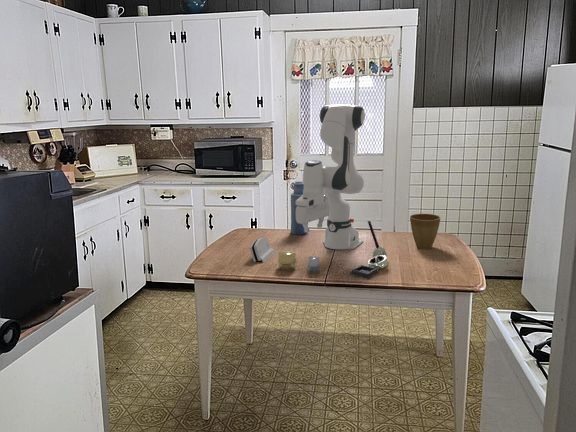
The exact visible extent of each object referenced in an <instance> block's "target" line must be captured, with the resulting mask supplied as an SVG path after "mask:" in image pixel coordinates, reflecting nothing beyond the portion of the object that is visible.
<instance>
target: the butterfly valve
mask: <svg viewBox="0 0 576 432" xmlns="http://www.w3.org/2000/svg"><path fill="white" fill-rule="evenodd" d="M367 224H368V227H369V230H370V232H371V236H372V239H373V242H374V244H375V248H374V249H373V250H372V251H371V256H372V258H370V259H368V261H367V266H369V267H373V268H377V271H379V270H380V269H383V268H385V267H387V266H388V264H389V261H388V258H387V256H388V254H387V251H386V249H385V248H384V247H382V246H380V244H379V242H378V240H377V236H376V234H375V231H374V228H373V225H372V222H371V220H368V221H367Z"/></svg>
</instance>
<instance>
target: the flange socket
mask: <svg viewBox="0 0 576 432" xmlns="http://www.w3.org/2000/svg"><path fill="white" fill-rule="evenodd" d="M379 273H380V271H379V270H377V268H373V267H369V265H364V264H360V265H358V266H356V267H354V268H352V269H351V271H350V272H349V275H350V276H354V277H357V278H361V279H366V280H370V279H371V278H373V277H374V276H376V275H378V274H379Z"/></svg>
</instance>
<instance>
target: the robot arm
mask: <svg viewBox="0 0 576 432" xmlns="http://www.w3.org/2000/svg"><path fill="white" fill-rule="evenodd" d="M365 120H366V113H365V110H364V108H363V106H361V105H357V104H356V105H355V104H354V105H351V104H346V103H345V104H344V103H343V104H326V105H323V106H322V107H321V109H320V111H319V121H320V124H321V126H320V130H319V131H320V132H319V136H320V140H321V141H322V142H323V143H324V144H325V146H326V145H327V146H328V147H329V148H331V154H330V157H331V160H332V161H333V163H335V164H336V165H337V166H323V162H322V161H321V160H317V159H313V160H308V161H306V162H304V165H303V170H302V171H303V173H302V181H303V184H304V189H303V195H302V196H301V197H300V198H298V199H297V200H296V205H298V206H297V207H296V221H297V223H299V224H302V225H303V227H304V232H308V233H309V232H310V227H308V226H309V223H310V222H314V221H316V220H318V222H317V224H316V227H317V228H318V229H321V228H323V222H324V221H325V218H326V217H327V218H326V219H327V221H326V226H327V227H326V228H325V232H324V233H325V234H324V236H325V237H324V240H323V242H322V243H323V244H324V247H325V248H327V249H331V250H354V249H356V248H357V247H358V246H360V245H361V244H362V243H364V240H363V239H361V238H360V237H359V236H360V235H359V234H360V233H359V231H358V230H357V229H356V228H355V227H353V225H352V224H353V223H354V222H355V219H354V218H350V217H351V215H350V213H351V211H350V208H351V207H350V204H349V202H348V201H347V200H345V199H344V198H343V196H342V195H341V194H343V195H345V194H346V195H355V194H359V193H360V192H362V191H363V188H364V184H365V182H364V181H365V180H364V177H363V175H361V174H360V172H359V171H358V169H356V167H355V163H354V162H355V161H354V153H355V151H354V150H355V140H356V133H355V132H356V131H357V130H358V129H359V128H361V127H362V126H363V125H364V122H365ZM307 225H308V226H307Z"/></svg>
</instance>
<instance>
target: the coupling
mask: <svg viewBox="0 0 576 432" xmlns="http://www.w3.org/2000/svg"><path fill="white" fill-rule="evenodd" d="M306 265H307V273H308V272H309V273H313V274H315V273H320V267H321V263H320V257H318V256H313V255H312V256H308V258H307V263H306Z"/></svg>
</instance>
